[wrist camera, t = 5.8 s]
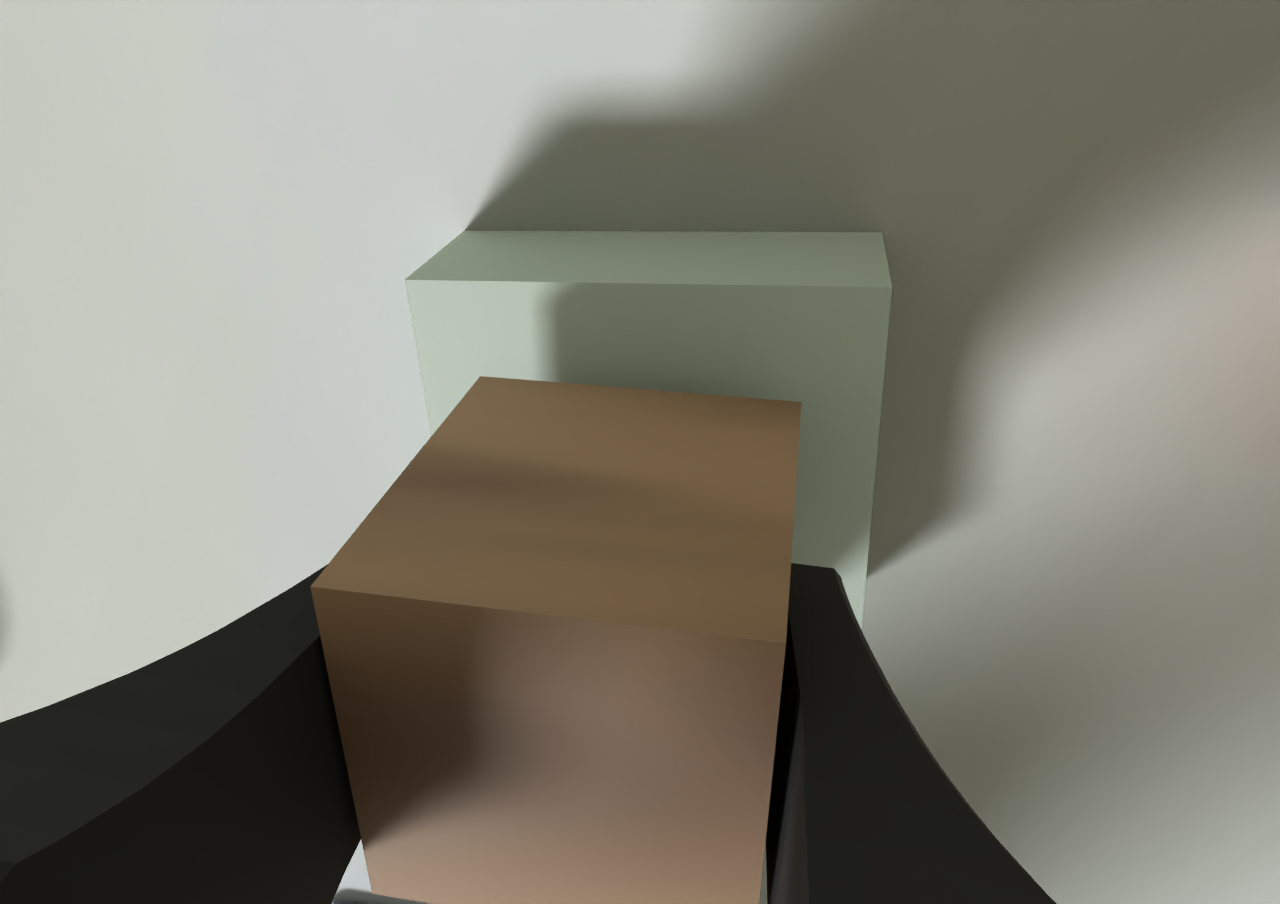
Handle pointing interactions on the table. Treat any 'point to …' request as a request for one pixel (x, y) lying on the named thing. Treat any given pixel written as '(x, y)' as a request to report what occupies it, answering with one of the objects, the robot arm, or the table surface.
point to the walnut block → (569, 648)
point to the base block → (683, 340)
